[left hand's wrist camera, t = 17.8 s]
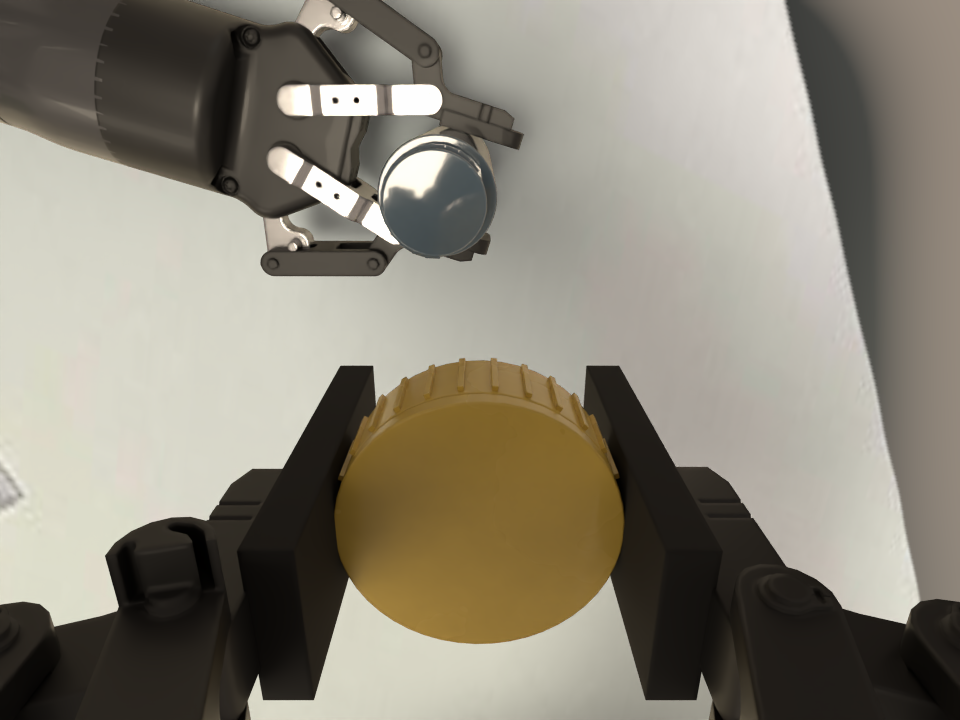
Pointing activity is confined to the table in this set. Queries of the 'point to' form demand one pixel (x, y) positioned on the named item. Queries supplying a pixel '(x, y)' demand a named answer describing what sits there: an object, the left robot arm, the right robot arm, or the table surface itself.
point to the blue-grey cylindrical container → (438, 193)
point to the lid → (479, 504)
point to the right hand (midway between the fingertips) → (502, 193)
